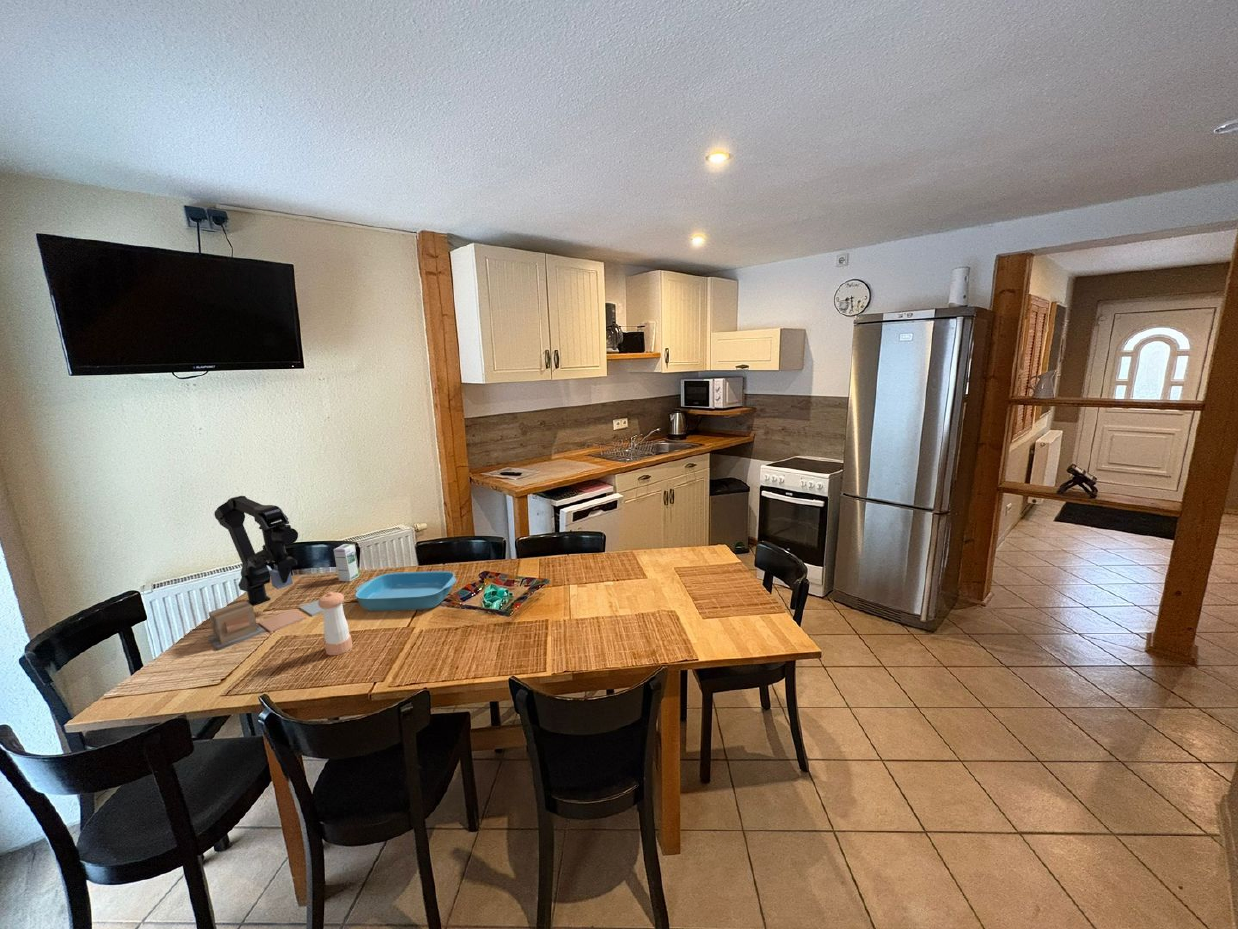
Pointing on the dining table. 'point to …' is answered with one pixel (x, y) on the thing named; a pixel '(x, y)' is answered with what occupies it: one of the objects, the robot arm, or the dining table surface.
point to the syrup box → (346, 562)
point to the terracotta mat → (282, 620)
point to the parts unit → (233, 624)
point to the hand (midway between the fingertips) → (281, 581)
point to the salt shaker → (335, 624)
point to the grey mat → (312, 608)
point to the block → (279, 579)
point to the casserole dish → (405, 590)
